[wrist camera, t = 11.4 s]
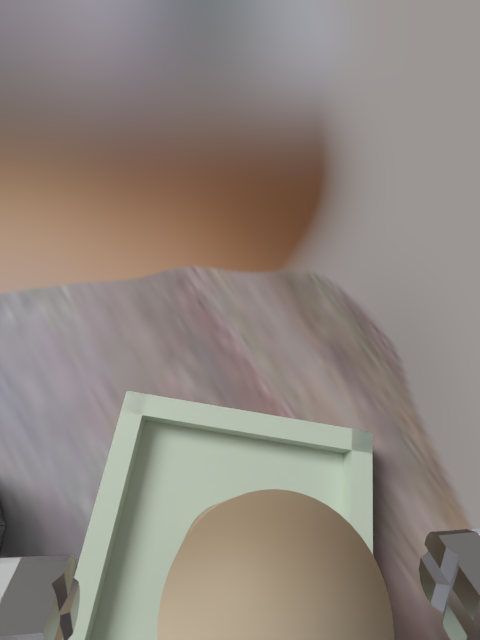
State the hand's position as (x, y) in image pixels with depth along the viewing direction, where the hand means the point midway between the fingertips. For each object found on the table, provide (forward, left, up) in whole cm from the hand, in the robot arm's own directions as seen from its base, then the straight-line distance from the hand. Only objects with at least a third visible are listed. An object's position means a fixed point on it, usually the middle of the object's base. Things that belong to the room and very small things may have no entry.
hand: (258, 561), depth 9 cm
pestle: (-1, 0, -10) cm, 10 cm away
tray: (-1, 0, -11) cm, 11 cm away
